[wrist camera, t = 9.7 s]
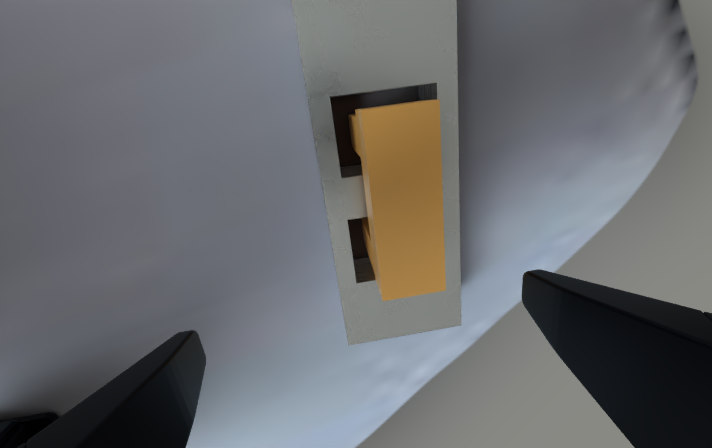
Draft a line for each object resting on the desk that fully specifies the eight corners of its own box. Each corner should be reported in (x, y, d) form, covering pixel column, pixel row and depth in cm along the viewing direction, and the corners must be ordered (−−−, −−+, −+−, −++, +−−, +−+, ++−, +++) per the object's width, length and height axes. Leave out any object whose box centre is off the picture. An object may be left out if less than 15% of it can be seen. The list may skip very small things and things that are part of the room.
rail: (443, 298, 23) (461, 325, 20) (344, 315, 22) (348, 345, 20) (432, -4, 17) (456, -26, 14) (295, 12, 16) (290, -8, 13)
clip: (410, 239, 21) (445, 290, 15) (364, 247, 21) (383, 301, 15) (400, 101, 18) (439, 99, 12) (347, 108, 18) (361, 109, 12)
